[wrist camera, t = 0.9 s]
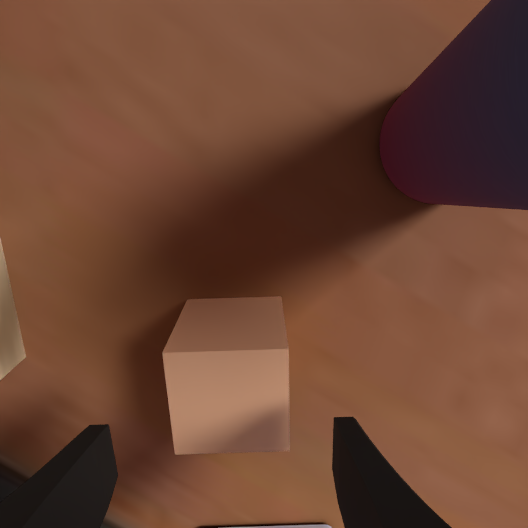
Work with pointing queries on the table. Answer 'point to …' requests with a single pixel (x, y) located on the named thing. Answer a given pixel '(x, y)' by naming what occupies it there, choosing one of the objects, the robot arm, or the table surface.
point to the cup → (466, 118)
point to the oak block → (8, 324)
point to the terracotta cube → (229, 376)
